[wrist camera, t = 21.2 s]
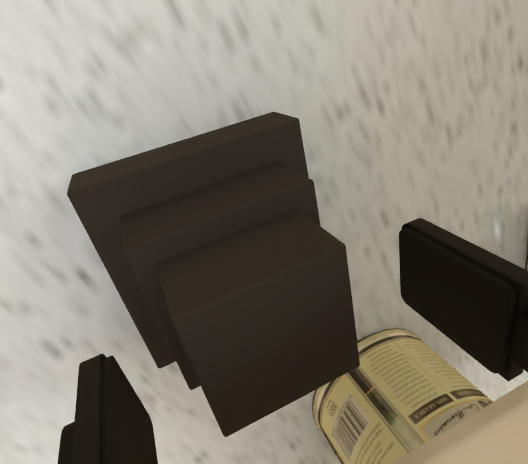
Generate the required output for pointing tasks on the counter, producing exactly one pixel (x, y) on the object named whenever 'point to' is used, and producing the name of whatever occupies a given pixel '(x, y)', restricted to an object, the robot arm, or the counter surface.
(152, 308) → the medium pad
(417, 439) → the coffee can
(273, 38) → the counter surface
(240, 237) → the small pad
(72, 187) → the large pad
